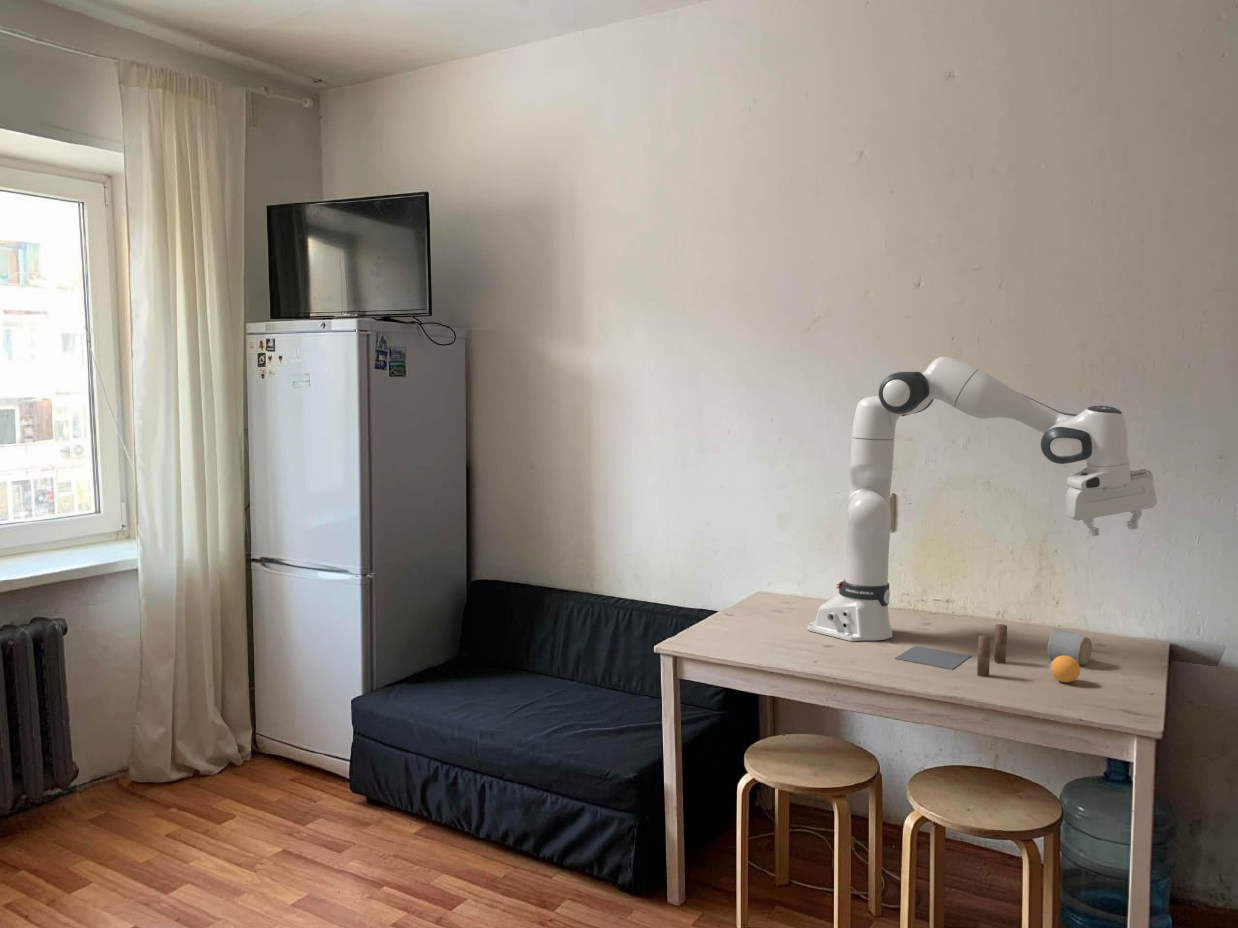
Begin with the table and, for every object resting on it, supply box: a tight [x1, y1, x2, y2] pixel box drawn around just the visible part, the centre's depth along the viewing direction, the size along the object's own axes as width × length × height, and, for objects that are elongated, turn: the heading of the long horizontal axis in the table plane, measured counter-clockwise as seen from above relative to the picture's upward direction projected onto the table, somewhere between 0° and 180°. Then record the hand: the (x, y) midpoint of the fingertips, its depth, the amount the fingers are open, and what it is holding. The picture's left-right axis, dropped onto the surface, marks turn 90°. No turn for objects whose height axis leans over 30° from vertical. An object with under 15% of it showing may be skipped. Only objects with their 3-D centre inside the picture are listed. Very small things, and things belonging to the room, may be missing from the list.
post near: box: [976, 635, 991, 678], centre depth 215 cm, size 3×3×9 cm
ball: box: [1050, 655, 1081, 683], centre depth 210 cm, size 6×6×6 cm
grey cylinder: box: [1047, 628, 1093, 666], centre depth 226 cm, size 11×8×8 cm
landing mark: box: [894, 645, 972, 670], centre depth 229 cm, size 14×14×1 cm
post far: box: [993, 623, 1008, 664], centre depth 225 cm, size 3×3×9 cm
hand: (1113, 532), depth 219 cm, fingers open, 8 cm apart
